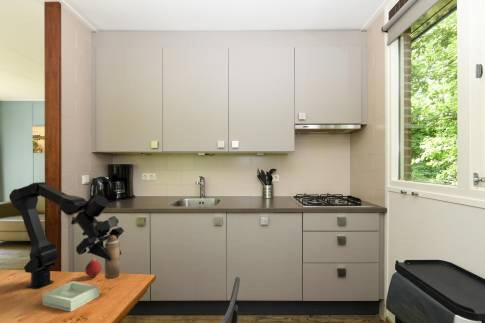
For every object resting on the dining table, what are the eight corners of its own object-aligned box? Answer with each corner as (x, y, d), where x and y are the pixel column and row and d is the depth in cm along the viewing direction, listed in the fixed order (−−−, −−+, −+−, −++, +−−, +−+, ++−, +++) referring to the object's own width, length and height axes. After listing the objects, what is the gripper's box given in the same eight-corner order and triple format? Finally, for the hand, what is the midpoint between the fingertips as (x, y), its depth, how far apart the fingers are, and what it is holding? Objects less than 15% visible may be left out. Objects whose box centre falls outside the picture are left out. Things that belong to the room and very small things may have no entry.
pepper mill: (101, 278, 100) (101, 236, 100) (112, 273, 104) (112, 233, 104) (112, 279, 98) (112, 237, 98) (122, 274, 102) (122, 234, 103)
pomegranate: (94, 281, 112) (94, 261, 112) (82, 280, 113) (82, 260, 113) (104, 275, 118) (104, 256, 118) (92, 274, 119) (92, 255, 119)
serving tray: (42, 304, 93) (42, 294, 93) (72, 290, 104) (72, 281, 104) (70, 311, 89) (70, 300, 89) (99, 296, 99) (99, 286, 99)
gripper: (83, 215, 93) (111, 250, 90) (120, 206, 111) (144, 236, 109) (63, 237, 95) (90, 272, 92) (103, 225, 113) (126, 254, 110)
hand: (115, 257), depth 101 cm, fingers closed on pepper mill, 5 cm apart
